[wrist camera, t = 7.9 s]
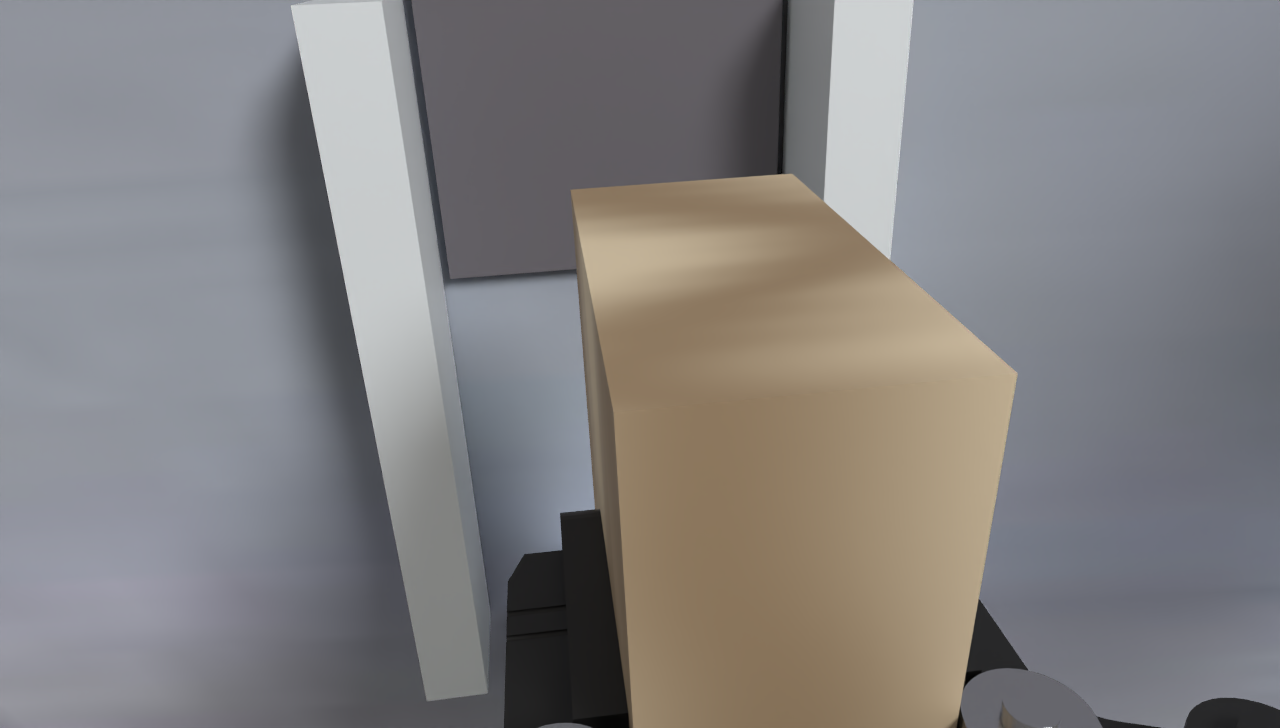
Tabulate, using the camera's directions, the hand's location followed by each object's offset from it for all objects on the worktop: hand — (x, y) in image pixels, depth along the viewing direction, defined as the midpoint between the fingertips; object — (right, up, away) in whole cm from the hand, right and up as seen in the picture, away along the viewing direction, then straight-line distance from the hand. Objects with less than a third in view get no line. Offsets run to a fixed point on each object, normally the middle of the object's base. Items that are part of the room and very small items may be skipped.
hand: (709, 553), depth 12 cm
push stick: (0, +1, +2) cm, 2 cm away
